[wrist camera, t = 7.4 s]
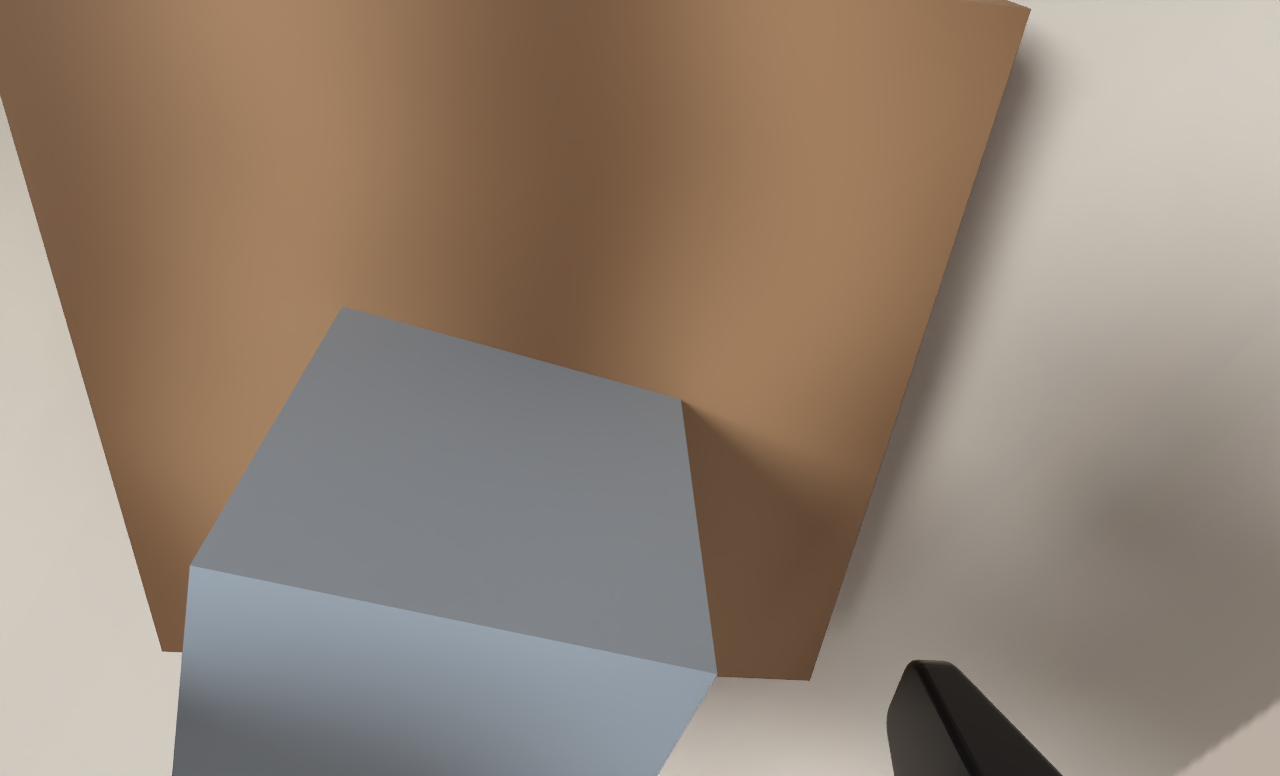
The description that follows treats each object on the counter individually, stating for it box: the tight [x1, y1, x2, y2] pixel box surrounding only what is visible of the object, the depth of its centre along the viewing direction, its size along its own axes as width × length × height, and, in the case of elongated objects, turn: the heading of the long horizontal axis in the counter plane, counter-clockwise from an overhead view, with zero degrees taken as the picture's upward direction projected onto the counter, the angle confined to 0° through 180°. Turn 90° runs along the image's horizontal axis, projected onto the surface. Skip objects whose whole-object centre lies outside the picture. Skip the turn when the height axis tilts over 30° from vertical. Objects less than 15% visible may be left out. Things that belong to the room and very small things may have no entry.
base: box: [0, 0, 1031, 681], centre depth 14 cm, size 12×12×2 cm
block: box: [172, 306, 717, 776], centre depth 11 cm, size 5×5×5 cm
